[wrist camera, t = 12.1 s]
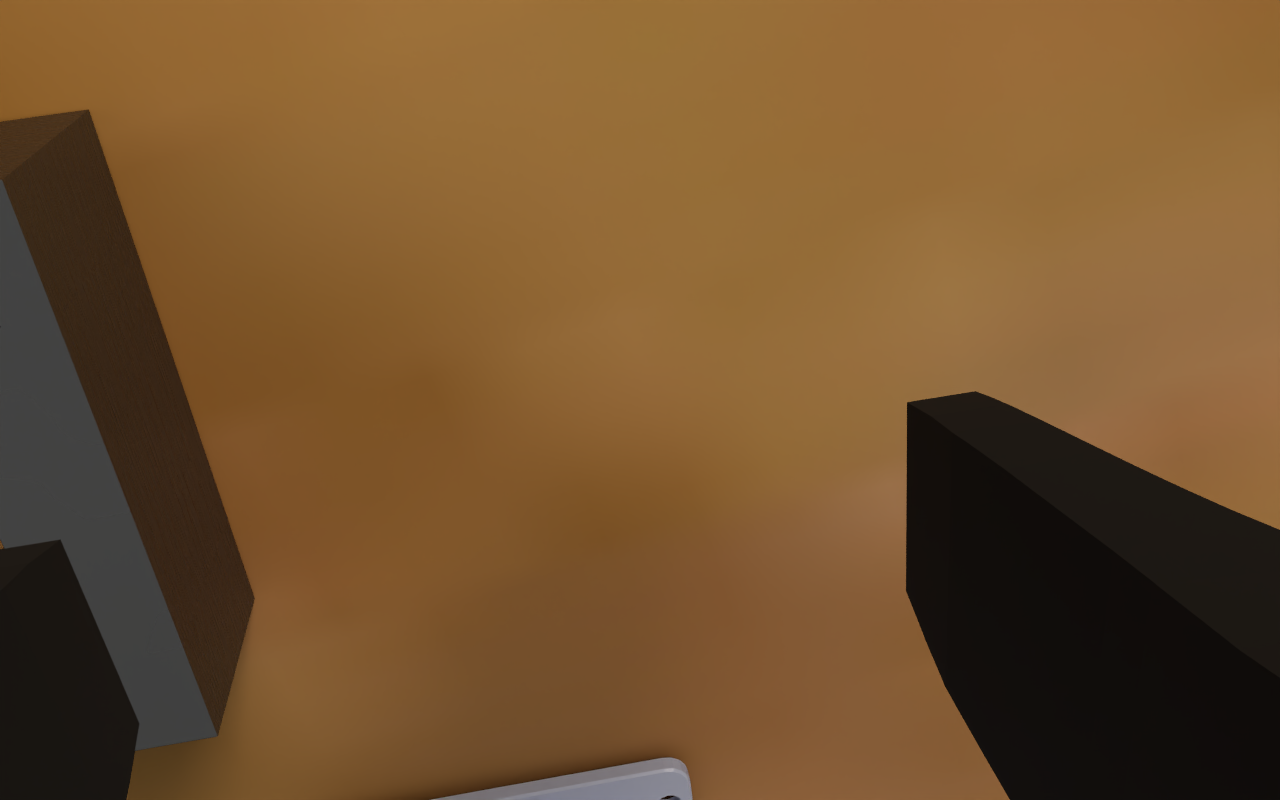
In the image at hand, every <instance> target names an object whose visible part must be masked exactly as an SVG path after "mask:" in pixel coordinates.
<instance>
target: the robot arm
mask: <svg viewBox="0 0 1280 800" xmlns="http://www.w3.org/2000/svg"><path fill="white" fill-rule="evenodd" d="M906 592H907V594H908V597H909V599H910V602H911V604H912V607H913V609H914V612H915V614H916V617H917V619H918V622H919V624H920V627H921V629H922V632H923V635H924V637H925V640H926V642H927V645H928V647H929V649H930V652H931V654H932V656H933V659H934V661H935V663H936V666H937V668H938V670H939V673H940V675H941V677H942V680H943V682H944V685H945V687H946V689H947V690H948V692H949V694H950V696H951V698H952V699H953V701H954V703H955V705H956V707H957V708H958V710H959V712H960V714H961V715H962V717H963V719H964V721H965V722H966V724H967V726H968V728H969V729H970V731H971V733H972V735H973V736H974V738H975V740H976V742H977V743H978V745H979V747H980V749H981V750H982V752H983V754H984V756H985V757H986V759H987V761H988V763H989V764H990V766H991V768H992V770H993V771H994V773H995V775H996V776H997V778H998V780H999V782H1000V783H1001V785H1002V787H1003V789H1004V790H1005V792H1006V794H1007V795H1008V797H1009V799H1010V800H1280V530H1279V529H1276V528H1274V527H1271V526H1269V525H1267V524H1264V523H1262V522H1259V521H1257V520H1254V519H1252V518H1250V517H1247V516H1245V515H1242V514H1240V513H1238V512H1235V511H1233V510H1230V509H1228V508H1226V507H1224V506H1221V505H1219V504H1217V503H1215V502H1212V501H1210V500H1208V499H1206V498H1203V497H1201V496H1199V495H1197V494H1194V493H1192V492H1190V491H1188V490H1186V489H1184V488H1181V487H1179V486H1177V485H1175V484H1173V483H1170V482H1168V481H1166V480H1164V479H1162V478H1160V477H1158V476H1156V475H1153V474H1151V473H1149V472H1147V471H1145V470H1143V469H1141V468H1139V467H1137V466H1134V465H1132V464H1130V463H1128V462H1126V461H1124V460H1122V459H1120V458H1118V457H1116V456H1114V455H1112V454H1110V453H1107V452H1105V451H1103V450H1101V449H1099V448H1097V447H1095V446H1093V445H1091V444H1089V443H1087V442H1085V441H1083V440H1081V439H1079V438H1077V437H1075V436H1073V435H1071V434H1069V433H1067V432H1065V431H1062V430H1060V429H1058V428H1056V427H1054V426H1052V425H1050V424H1048V423H1046V422H1044V421H1042V420H1040V419H1038V418H1036V417H1034V416H1031V415H1029V414H1027V413H1025V412H1023V411H1021V410H1019V409H1017V408H1014V407H1012V406H1010V405H1008V404H1006V403H1003V402H1001V401H999V400H996V399H994V398H992V397H989V396H986V395H984V394H981V393H979V392H976V391H975V392H968V393H962V394H956V395H950V396H944V397H937V398H931V399H925V400H919V401H913V402H907V531H906ZM138 729H139V721H138V719H137V717H136V714H135V712H134V710H133V707H132V705H131V703H130V700H129V698H128V696H127V693H126V691H125V689H124V686H123V684H122V682H121V679H120V677H119V675H118V672H117V670H116V668H115V665H114V663H113V661H112V658H111V656H110V654H109V651H108V649H107V647H106V644H105V642H104V640H103V637H102V635H101V633H100V630H99V628H98V626H97V623H96V621H95V619H94V616H93V614H92V612H91V609H90V607H89V605H88V602H87V600H86V598H85V595H84V593H83V591H82V588H81V586H80V584H79V581H78V579H77V577H76V574H75V572H74V570H73V567H72V565H71V563H70V560H69V558H68V556H67V553H66V551H65V549H64V546H63V544H62V542H61V540H54V541H48V542H42V543H36V544H30V545H24V546H17V547H11V548H5V549H0V800H126V798H127V793H128V788H129V783H130V777H131V771H132V765H133V759H134V753H135V747H136V741H137V735H138ZM666 796H674V797H672V798H669V799H661V798H663V797H666ZM431 800H692V792H691V784H690V778H689V774H688V770H687V768H686V765H685V764H684V763H683V762H681V761H680V760H678V759H675V758H658V759H653V760H647V761H642V762H636V763H631V764H625V765H619V766H614V767H608V768H603V769H597V770H592V771H586V772H581V773H575V774H570V775H564V776H559V777H553V778H548V779H542V780H536V781H531V782H525V783H520V784H514V785H509V786H503V787H498V788H492V789H487V790H481V791H476V792H470V793H465V794H459V795H453V796H448V797H442V798H437V799H431Z"/></svg>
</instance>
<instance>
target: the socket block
mask: <svg viewBox="0 0 1280 800" xmlns="http://www.w3.org/2000/svg"><path fill="white" fill-rule="evenodd" d="M0 540H1V542H2V544H3V546H4V548H11V547H17V546H24V545H30V544H36V543H42V542H48V541H54V540H61V542H62V544H63V546H64V549H65V551H66V553H67V556H68V558H69V560H70V563H71V565H72V567H73V570H74V572H75V574H76V577H77V579H78V581H79V584H80V586H81V588H82V591H83V593H84V595H85V598H86V600H87V602H88V605H89V607H90V609H91V612H92V614H93V616H94V619H95V621H96V623H97V626H98V628H99V630H100V633H101V635H102V637H103V640H104V642H105V644H106V647H107V649H108V651H109V654H110V656H111V658H112V661H113V663H114V665H115V668H116V670H117V672H118V675H119V677H120V679H121V682H122V684H123V686H124V689H125V691H126V693H127V696H128V698H129V700H130V703H131V705H132V707H133V710H134V712H135V714H136V717H137V719H138V721H139V729H138V735H137V741H136V747H135V751H136V750H142V749H148V748H153V747H159V746H165V745H171V744H176V743H182V742H188V741H193V740H199V739H205V738H211V737H216V736H218V733H219V729H220V725H221V722H222V718H223V714H224V711H225V707H226V703H227V699H228V696H229V692H230V688H231V684H232V681H233V677H234V673H235V670H236V666H237V662H238V658H239V655H240V651H241V647H242V644H243V640H244V636H245V632H246V629H247V625H248V621H249V617H250V614H251V610H252V606H253V603H254V599H255V598H254V595H253V592H252V589H251V586H250V583H249V581H248V578H247V575H246V572H245V569H244V566H243V563H242V560H241V557H240V554H239V551H238V548H237V545H236V542H235V539H234V536H233V533H232V530H231V528H230V525H229V522H228V519H227V516H226V513H225V510H224V507H223V504H222V501H221V498H220V495H219V492H218V489H217V486H216V483H215V480H214V477H213V475H212V472H211V469H210V466H209V463H208V460H207V457H206V454H205V451H204V448H203V445H202V442H201V439H200V436H199V433H198V430H197V427H196V424H195V422H194V419H193V416H192V413H191V410H190V407H189V404H188V401H187V398H186V395H185V392H184V389H183V386H182V383H181V380H180V377H179V374H178V371H177V369H176V366H175V363H174V360H173V357H172V354H171V351H170V348H169V345H168V342H167V339H166V336H165V333H164V330H163V327H162V324H161V321H160V318H159V316H158V313H157V310H156V307H155V304H154V301H153V298H152V295H151V292H150V289H149V286H148V283H147V280H146V277H145V274H144V271H143V268H142V266H141V263H140V260H139V257H138V254H137V251H136V248H135V245H134V242H133V239H132V236H131V233H130V230H129V227H128V224H127V221H126V218H125V215H124V213H123V210H122V207H121V204H120V201H119V198H118V195H117V192H116V189H115V186H114V183H113V180H112V177H111V174H110V171H109V168H108V165H107V162H106V160H105V157H104V154H103V151H102V148H101V145H100V142H99V139H98V136H97V133H96V130H95V127H94V124H93V121H92V118H91V115H90V112H89V110H83V111H75V112H68V113H61V114H53V115H46V116H39V117H32V118H24V119H17V120H10V121H3V122H0Z"/></svg>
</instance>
